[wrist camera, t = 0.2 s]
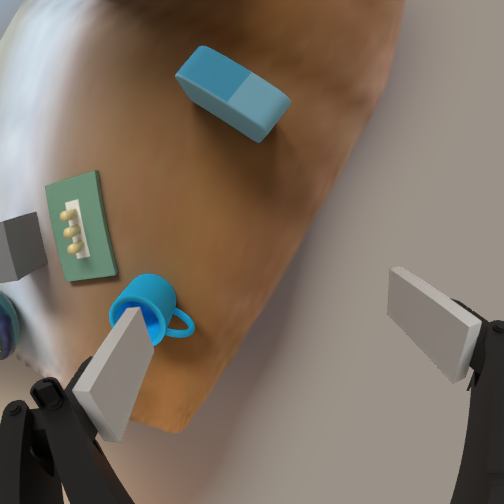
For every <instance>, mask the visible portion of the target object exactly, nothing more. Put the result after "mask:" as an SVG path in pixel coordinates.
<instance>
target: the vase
mask: <svg viewBox="0 0 504 504" xmlns="http://www.w3.org/2000/svg"><path fill="white" fill-rule="evenodd" d="M19 338H20V324H19V319H18V315H17V313H16V310H15V308H14V306H13V304H12V303H11V301H10V300H9V299H8V297H7V296H6V295H5V294H4V293H3V292H2V291H0V360H4V359H6V358H8V357H9V356H10V355H11V354H12V353H13V352H14V351H15V349H16V347H17V345H18V342H19Z"/></svg>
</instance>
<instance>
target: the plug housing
mask: <svg viewBox="0 0 504 504" xmlns="http://www.w3.org/2000/svg"><path fill="white" fill-rule="evenodd" d="M46 263H48V261H47V258H46V254H45V250H44V246H43V242H42V237H41V233H40V228H39V223H38V218H37V213H36V212H33V213H29V214H26V215H23V216H19V217H16V218H13V219H9V220H6V221H3V222H0V283H5V282H11V281H18V280H20V279H21V278H23V277H24V276H26V275H28V274H29V273H31V272H33V271H34V270H36V269H37V268H39V267H41V266H43V265H44V264H46Z"/></svg>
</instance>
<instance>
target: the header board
mask: <svg viewBox="0 0 504 504" xmlns="http://www.w3.org/2000/svg"><path fill="white" fill-rule="evenodd" d="M45 189H46V196H47V202H48V208H49V213H50V219H51V224H52V228H53V233H54V237H55V242H56V246H57V250H58V254H59V258H60V262H61V265H62V269H63V272H64V276H65V279H66V282H68V281H76V280H83V279H91V278H98V277H106V276H113V275H116V274H117V273H118V269H117V265H116V261H115V257H114V253H113V249H112V244H111V240H110V235H109V230H108V226H107V221H106V215H105V210H104V205H103V199H102V193H101V187H100V180H99V173H98V171H92V172H88V173H85V174H82V175H78V176H75V177H72V178H69V179H65V180H62V181H59V182H56V183H53V184H50V185H47V186H45Z"/></svg>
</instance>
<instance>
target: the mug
mask: <svg viewBox="0 0 504 504" xmlns="http://www.w3.org/2000/svg"><path fill="white" fill-rule="evenodd" d="M176 302H177V301H176V294H175V292H174V290H173V288H172V286H171V285H170V284H169V283H168V282H167V280H165V279H164V278H162V277H160V276H158V275H154V274H142V275H140V276H137V277H136V278H135V279H134V280H133V281H132V282H131V283H130V284H129V285H128V286H127V287H126V289H125V290H124V291H123V292H122V293H121V294H120V296H119V297H118V298H117V299H116V300H115V301H114V303H113V304H112V306H111V309H110V313H109V320H110V324H111V327H112V329H113V327H114V326H115V324H116V323H117V321H118V320H119V319H120V317H121V316H122V314H123V313H124V312H125V310H126V309H127V308H133V307H140V308H141V312H142V315H143V318H144V321H145V324H146V328H147V331H148V334H149V337H150V340H151V343H152V345H153V346H155V345H157V344H158V343H159V342H161V340H162V339H163V337H164V335H167V336H170V337H176V338H184V337H188V336H190V335H192V334H193V332H194V331H195V324H194V322H193V320H192V319H191V318H190V317H189V316H188V315H187V314H186V313H184V312H183V311H181V310H180V309H178V308H176ZM173 314H174V315H176V316H178V317H179V318H181V319H182V320H183V321H184V322H185V323H186V324H187V325H188V329H186V330H175V329H170V328H168V325H169V323H170V320H171V318H172V315H173Z"/></svg>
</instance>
